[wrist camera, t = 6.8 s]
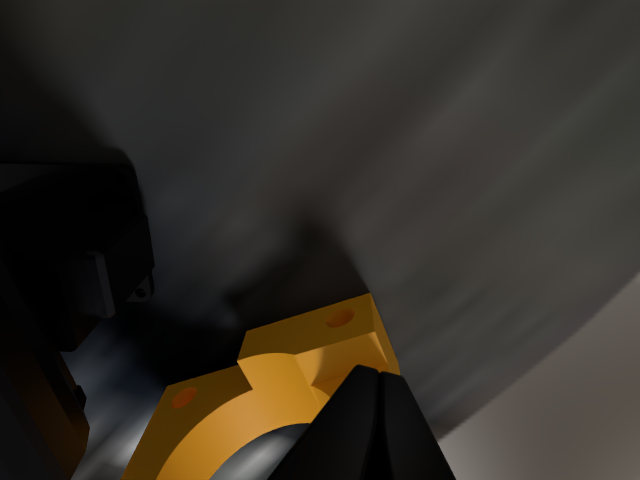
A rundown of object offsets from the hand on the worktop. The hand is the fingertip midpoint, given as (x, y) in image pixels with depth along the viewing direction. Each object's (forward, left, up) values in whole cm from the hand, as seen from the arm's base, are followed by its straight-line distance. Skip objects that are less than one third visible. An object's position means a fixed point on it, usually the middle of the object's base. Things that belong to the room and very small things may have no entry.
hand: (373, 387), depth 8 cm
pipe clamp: (-4, -10, -12) cm, 16 cm away
